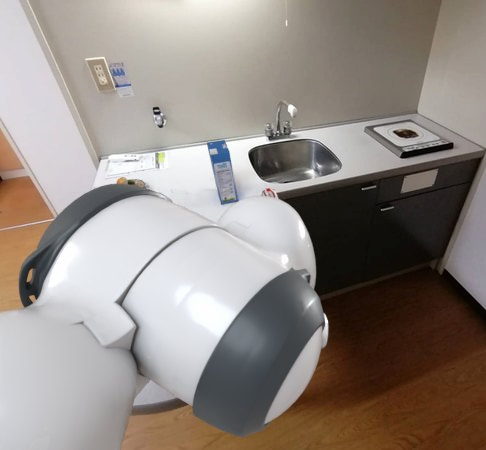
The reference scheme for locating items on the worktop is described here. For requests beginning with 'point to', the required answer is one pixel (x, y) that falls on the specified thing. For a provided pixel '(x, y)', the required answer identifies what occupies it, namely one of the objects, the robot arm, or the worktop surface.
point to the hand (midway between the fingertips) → (190, 330)
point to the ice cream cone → (270, 193)
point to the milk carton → (222, 171)
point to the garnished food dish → (131, 182)
